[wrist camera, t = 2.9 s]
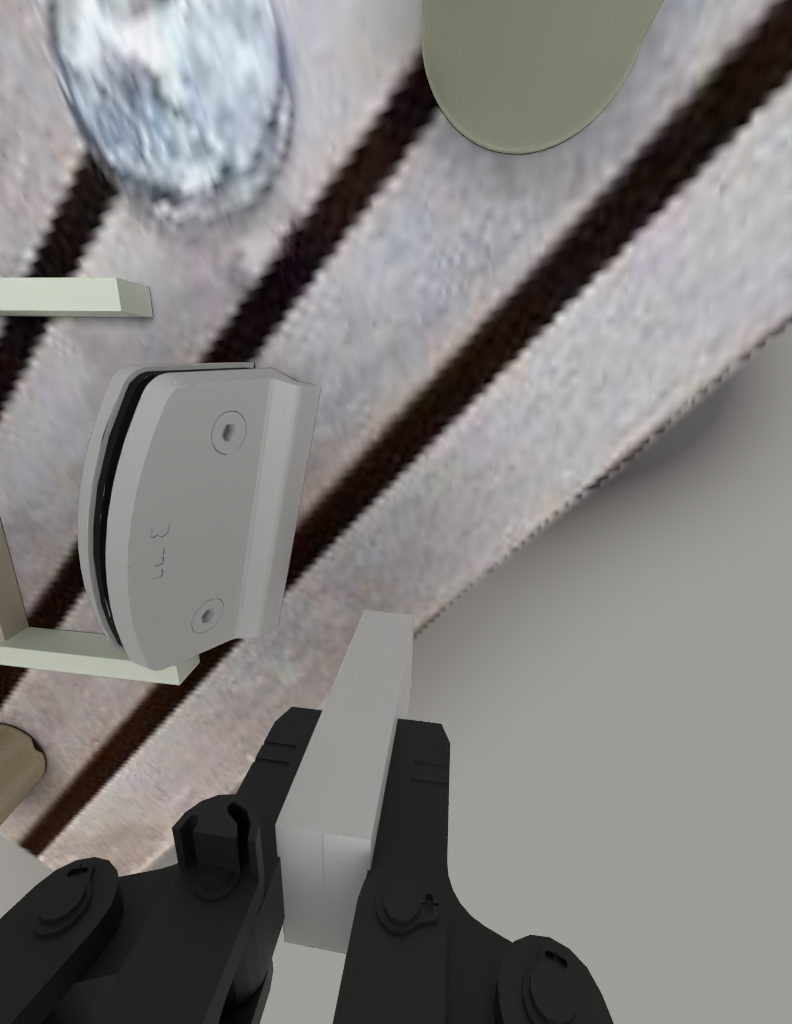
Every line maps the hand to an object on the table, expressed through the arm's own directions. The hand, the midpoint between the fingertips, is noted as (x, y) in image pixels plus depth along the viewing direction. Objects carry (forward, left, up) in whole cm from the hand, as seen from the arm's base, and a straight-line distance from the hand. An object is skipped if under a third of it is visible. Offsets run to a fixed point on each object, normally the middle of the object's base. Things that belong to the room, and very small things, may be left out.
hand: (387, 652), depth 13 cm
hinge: (-11, 0, -13) cm, 18 cm away
